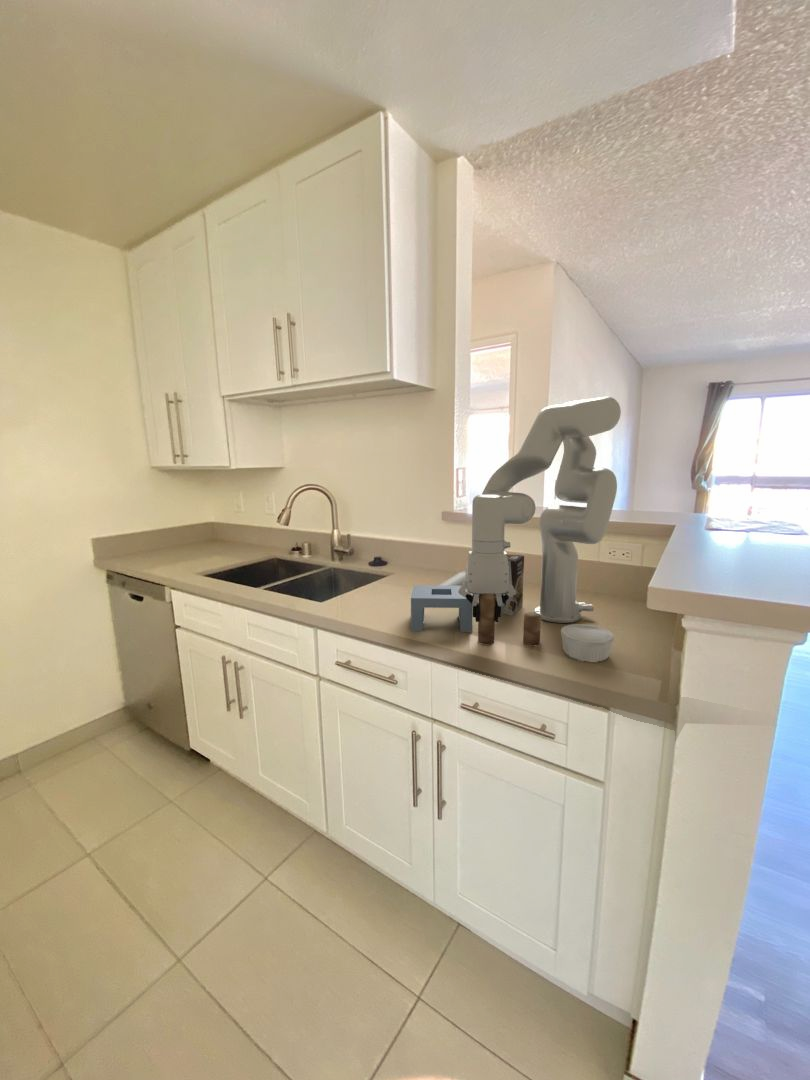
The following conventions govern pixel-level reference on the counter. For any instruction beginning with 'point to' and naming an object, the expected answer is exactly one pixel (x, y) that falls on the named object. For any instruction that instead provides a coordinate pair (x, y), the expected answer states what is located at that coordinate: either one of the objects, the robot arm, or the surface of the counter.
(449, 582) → the tube
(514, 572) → the coffee box
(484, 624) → the tall pin
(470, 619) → the bridge
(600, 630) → the ramekin
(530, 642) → the short pin
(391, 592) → the counter surface
